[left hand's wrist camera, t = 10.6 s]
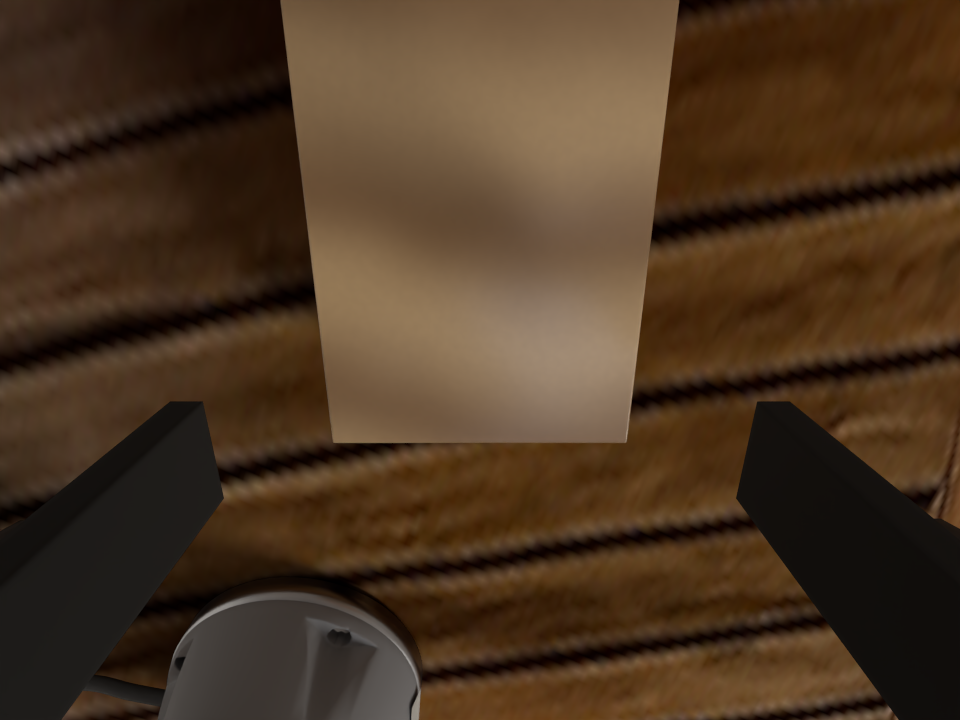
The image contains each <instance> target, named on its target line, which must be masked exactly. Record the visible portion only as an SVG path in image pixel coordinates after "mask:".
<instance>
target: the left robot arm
mask: <svg viewBox="0 0 960 720" xmlns="http://www.w3.org/2000/svg"><path fill="white" fill-rule="evenodd" d="M223 499H224V497H223V492H222V488H221V483H220V479H219V474H218V469H217V465H216V460H215V456H214V451H213V446H212V442H211V437H210V433H209V428H208V424H207V419H206V414H205V410H204V405H203V402H169V403H168V404H167V405H166V406H164V407H163V408H162V409H161V410H159V411H158V412H157V413H156V414H154V415H153V416H152V417H151V418H150V419H148V420H147V421H146V422H145V423H143V424H142V425H141V426H140V427H138V428H137V429H136V430H135V431H134V432H132V433H131V434H130V435H129V436H127V437H126V438H125V439H124V440H122V441H121V442H120V443H119V444H118V445H116V446H115V447H114V448H113V449H111V450H110V451H109V452H108V453H106V454H105V455H104V456H103V457H102V458H100V459H99V460H98V461H97V462H95V463H94V464H93V465H92V466H91V467H89V468H88V469H87V470H86V471H84V472H83V473H82V474H81V475H79V476H78V477H77V478H76V479H75V480H73V481H72V482H71V483H70V484H68V485H67V486H66V487H65V488H63V489H62V490H61V491H60V492H59V493H57V494H56V495H55V496H54V497H52V498H51V499H50V500H49V501H47V502H46V503H45V504H44V505H43V506H41V507H40V508H39V509H38V510H36V511H35V512H34V513H33V514H32V515H30V516H29V517H28V518H27V519H25V520H24V521H18V522H17V523H15V524H13V525H11V526H9V527H7V528H5V529H4V530H2V531H0V720H61V719H62V718H63V717H64V715H65V714H66V712H67V711H68V710H69V708H70V707H71V706H72V704H73V703H74V702H75V700H76V699H77V697H78V696H79V695H80V693H81V692H82V691H93V692H99V693H103V694H107V695H110V696H113V697H117V698H120V699H124V700H129V701H134V702H139V703H144V704H149V705H155V706H160V707H161V708H160V712H159V717H158V720H419V706H420V692H421V683H422V661H421V656H420V653H419V650H418V647H417V645H416V643H415V641H414V639H413V637H412V636H411V634H410V633H409V631H408V630H407V629H406V627H405V626H404V625H403V624H402V622H401V621H400V620H399V619H398V618H397V617H396V616H395V615H393V614H392V613H391V612H390V611H389V610H388V609H386V608H385V607H384V606H382V605H381V604H379V603H378V602H376V601H375V600H373V599H371V598H369V597H368V596H366V595H364V594H362V593H360V592H358V591H355V590H353V589H350V588H348V587H345V586H342V585H339V584H335V583H332V582H327V581H323V580H317V579H311V578H301V577H277V578H267V579H261V580H256V581H252V582H247V583H244V584H242V585H239V586H236V587H234V588H231V589H229V590H227V591H225V592H223V593H222V594H220V595H218V596H217V597H215V598H214V599H212V600H211V601H210V602H208V603H207V604H206V605H205V606H204V607H203V608H202V609H201V610H200V611H199V613H198V614H197V615H196V617H195V618H194V620H193V621H192V623H191V624H190V626H189V628H188V629H187V631H186V633H185V634H184V636H183V638H182V639H181V641H180V642H179V644H178V646H177V648H176V650H175V652H174V655H173V658H172V662H171V666H170V669H169V674H168V678H167V688H166V690H165V689H159V688H154V687H148V686H143V685H138V684H133V683H129V682H125V681H121V680H118V679H114V678H110V677H106V676H99V675H94V674H95V673H96V672H97V670H98V669H99V668H100V666H101V665H102V663H103V662H104V661H105V659H106V658H107V657H108V655H109V654H110V653H111V651H112V650H113V648H114V647H115V646H116V644H117V643H118V642H119V640H120V639H121V638H122V636H123V635H124V633H125V632H126V631H127V629H128V628H129V627H130V625H131V624H132V623H133V621H134V620H135V619H136V617H137V616H138V614H139V613H140V612H141V610H142V609H143V608H144V606H145V605H146V604H147V602H148V601H149V599H150V598H151V597H152V595H153V594H154V593H155V591H156V590H157V589H158V587H159V586H160V584H161V583H162V582H163V580H164V579H165V578H166V576H167V575H168V574H169V572H170V571H171V570H172V568H173V567H174V565H175V564H176V563H177V561H178V560H179V559H180V557H181V556H182V555H183V553H184V552H185V550H186V549H187V548H188V546H189V545H190V544H191V542H192V541H193V540H194V538H195V537H196V535H197V534H198V533H199V531H200V530H201V529H202V527H203V526H204V525H205V523H206V522H207V521H208V519H209V518H210V516H211V515H212V514H213V512H214V511H215V510H216V508H217V507H218V506H219V504H220V503H221V501H222V500H223ZM736 499H737V500H738V501H739V503H740V504H741V506H742V507H743V508H744V510H745V511H746V512H747V514H748V515H749V516H750V518H751V519H752V521H753V522H754V523H755V525H756V526H757V527H758V529H759V530H760V531H761V533H762V534H763V535H764V537H765V538H766V540H767V541H768V542H769V544H770V545H771V546H772V548H773V549H774V550H775V552H776V553H777V555H778V556H779V557H780V559H781V560H782V561H783V563H784V564H785V565H786V567H787V568H788V570H789V571H790V572H791V574H792V575H793V576H794V578H795V579H796V580H797V582H798V583H799V584H800V586H801V587H802V589H803V590H804V591H805V593H806V594H807V595H808V597H809V598H810V599H811V601H812V602H813V604H814V605H815V606H816V608H817V609H818V610H819V612H820V613H821V614H822V616H823V617H824V619H825V620H826V621H827V623H828V624H829V625H830V627H831V628H832V629H833V631H834V632H835V633H836V635H837V636H838V638H839V639H840V640H841V642H842V643H843V644H844V646H845V647H846V648H847V650H848V651H849V653H850V654H851V655H852V657H853V658H854V659H855V661H856V662H857V663H858V665H859V666H860V668H861V669H862V670H863V672H864V673H865V674H866V676H867V677H868V678H869V680H870V681H871V682H872V684H873V685H874V687H875V688H876V689H877V691H878V692H879V693H880V695H881V696H882V697H883V699H884V700H885V702H886V703H887V704H888V706H889V707H890V708H891V710H892V711H893V712H894V714H895V715H896V717H897V718H898V719H899V720H960V529H959V528H957V527H955V526H953V525H951V524H950V523H948V522H946V521H944V520H942V519H933V518H932V517H931V516H930V515H928V514H927V513H926V512H925V511H924V510H922V509H921V508H920V507H919V506H917V505H916V504H915V503H914V502H913V501H911V500H910V499H909V498H908V497H906V496H905V495H904V494H903V493H901V492H900V491H899V490H898V489H897V488H895V487H894V486H893V485H892V484H890V483H889V482H888V481H887V480H885V479H884V478H883V477H882V476H881V475H879V474H878V473H877V472H876V471H874V470H873V469H872V468H871V467H869V466H868V465H867V464H866V463H865V462H863V461H862V460H861V459H860V458H858V457H857V456H856V455H855V454H854V453H852V452H851V451H850V450H849V449H847V448H846V447H845V446H844V445H842V444H841V443H840V442H839V441H838V440H836V439H835V438H834V437H833V436H831V435H830V434H829V433H828V432H826V431H825V430H824V429H823V428H822V427H820V426H819V425H818V424H817V423H815V422H814V421H813V420H812V419H810V418H809V417H808V416H807V415H806V414H804V413H803V412H802V411H801V410H799V409H798V408H797V407H796V406H794V405H793V404H792V403H791V402H757V405H756V410H755V414H754V419H753V424H752V428H751V433H750V437H749V442H748V446H747V451H746V456H745V460H744V465H743V469H742V474H741V479H740V483H739V488H738V492H737V497H736Z"/></svg>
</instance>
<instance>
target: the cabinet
mask: <svg viewBox="0 0 960 720" xmlns="http://www.w3.org/2000/svg"><path fill="white" fill-rule="evenodd" d="M280 1H281V10H282V18H283V27H284V35H285V43H286V52H287V60H288V69H289V77H290V86H291V94H292V102H293V111H294V119H295V128H296V136H297V144H298V153H299V161H300V170H301V178H302V186H303V195H304V203H305V212H306V220H307V228H308V237H309V245H310V254H311V262H312V270H313V279H314V287H315V296H316V304H317V313H318V321H319V329H320V338H321V346H322V355H323V363H324V371H325V380H326V388H327V397H328V405H329V413H330V422H331V430H332V439H333V442H334V443H626V442H627V435H628V427H629V419H630V410H631V402H632V393H633V385H634V376H635V368H636V360H637V351H638V343H639V334H640V326H641V317H642V309H643V301H644V292H645V284H646V275H647V267H648V259H649V250H650V242H651V233H652V225H653V216H654V208H655V200H656V191H657V183H658V174H659V166H660V157H661V149H662V141H663V132H664V124H665V115H666V107H667V99H668V90H669V82H670V73H671V65H672V56H673V48H674V40H675V31H676V23H677V14H678V6H679V0H280Z"/></svg>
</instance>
